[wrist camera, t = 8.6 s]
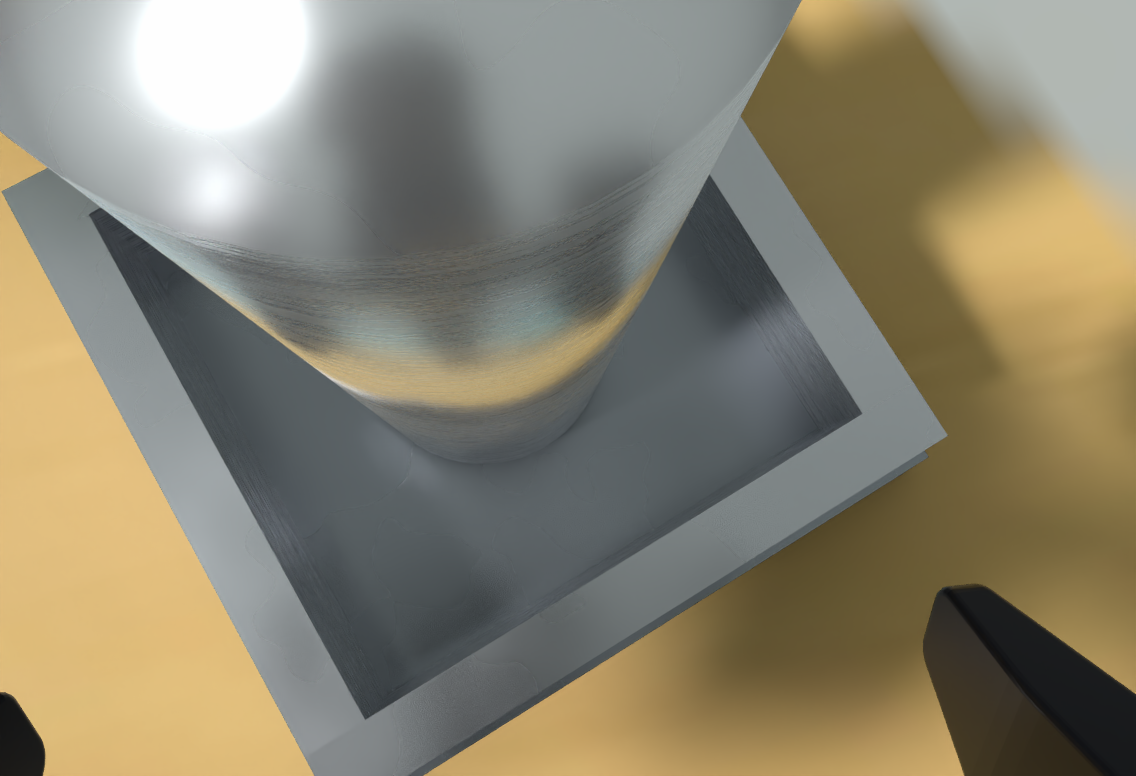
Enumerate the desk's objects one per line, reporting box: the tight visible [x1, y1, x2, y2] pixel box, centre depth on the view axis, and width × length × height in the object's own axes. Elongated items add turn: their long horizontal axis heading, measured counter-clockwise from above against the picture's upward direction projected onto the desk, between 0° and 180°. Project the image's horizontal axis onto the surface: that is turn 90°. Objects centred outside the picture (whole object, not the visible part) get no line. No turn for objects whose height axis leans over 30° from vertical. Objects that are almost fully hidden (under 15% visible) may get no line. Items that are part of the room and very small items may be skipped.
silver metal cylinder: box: [0, 0, 801, 464], centre depth 10 cm, size 4×4×12 cm
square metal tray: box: [2, 116, 948, 776], centre depth 16 cm, size 12×12×3 cm
